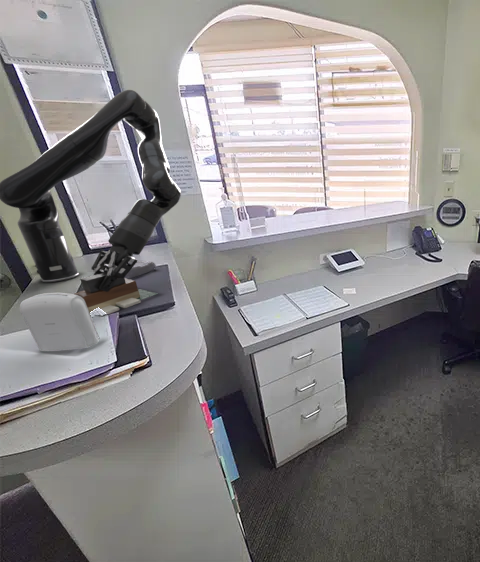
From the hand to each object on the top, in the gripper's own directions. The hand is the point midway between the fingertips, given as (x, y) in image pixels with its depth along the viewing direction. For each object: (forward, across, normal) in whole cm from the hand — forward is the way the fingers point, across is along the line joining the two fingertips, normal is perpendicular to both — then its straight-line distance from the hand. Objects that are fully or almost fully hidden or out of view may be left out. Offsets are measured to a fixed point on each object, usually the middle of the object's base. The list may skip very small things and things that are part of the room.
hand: (97, 288), depth 81 cm
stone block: (-10, +23, -18) cm, 31 cm away
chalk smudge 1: (+5, -4, -3) cm, 7 cm away
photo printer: (+14, -16, +5) cm, 21 cm away
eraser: (+2, 0, -5) cm, 6 cm away
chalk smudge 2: (+1, -4, -6) cm, 8 cm away
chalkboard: (+3, +6, -5) cm, 8 cm away
